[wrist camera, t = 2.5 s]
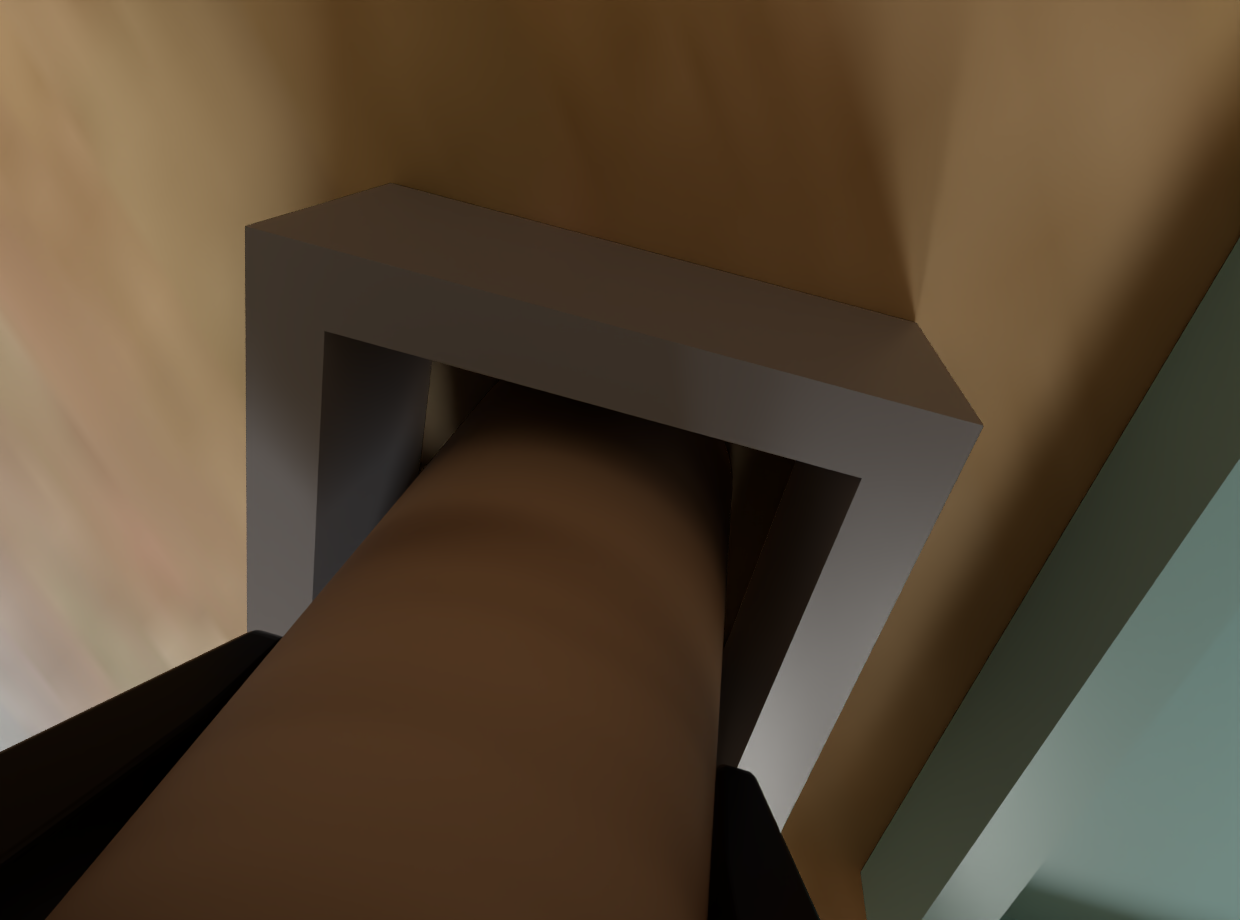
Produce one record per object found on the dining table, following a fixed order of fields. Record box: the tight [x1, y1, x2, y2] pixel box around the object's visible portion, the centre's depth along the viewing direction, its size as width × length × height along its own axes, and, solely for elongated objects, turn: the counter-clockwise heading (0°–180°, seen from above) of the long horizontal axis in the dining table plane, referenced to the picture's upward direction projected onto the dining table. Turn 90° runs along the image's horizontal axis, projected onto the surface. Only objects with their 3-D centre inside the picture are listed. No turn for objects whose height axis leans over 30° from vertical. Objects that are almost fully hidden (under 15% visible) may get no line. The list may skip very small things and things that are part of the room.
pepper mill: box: [45, 379, 732, 920], centre depth 9 cm, size 5×5×11 cm
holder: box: [245, 183, 983, 832], centre depth 12 cm, size 9×9×4 cm
